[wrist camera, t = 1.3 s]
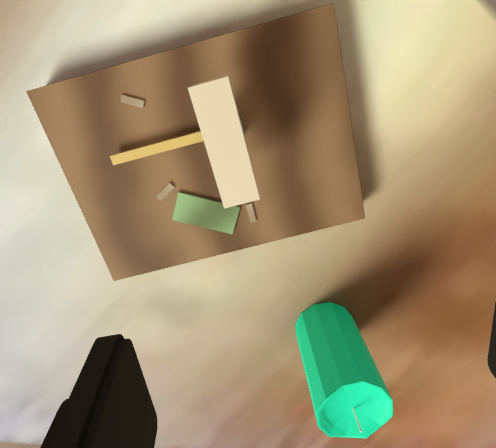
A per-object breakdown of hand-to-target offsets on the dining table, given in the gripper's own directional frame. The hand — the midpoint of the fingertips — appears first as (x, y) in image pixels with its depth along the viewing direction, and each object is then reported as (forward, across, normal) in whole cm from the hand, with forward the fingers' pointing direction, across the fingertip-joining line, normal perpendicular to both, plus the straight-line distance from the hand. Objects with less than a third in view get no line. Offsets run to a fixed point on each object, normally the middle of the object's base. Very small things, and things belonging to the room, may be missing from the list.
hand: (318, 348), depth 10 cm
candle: (+23, -5, +19) cm, 30 cm away
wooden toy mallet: (+21, +5, -2) cm, 22 cm away
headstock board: (+24, +3, 0) cm, 24 cm away
